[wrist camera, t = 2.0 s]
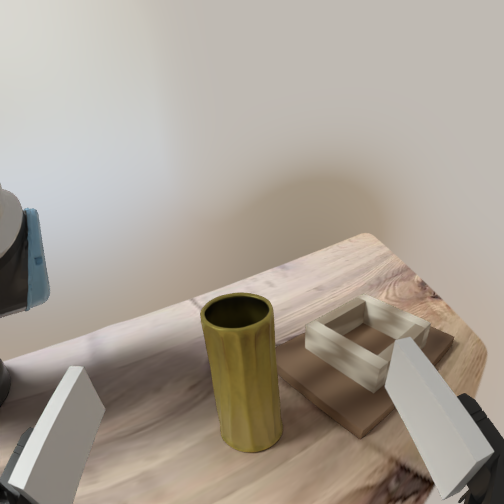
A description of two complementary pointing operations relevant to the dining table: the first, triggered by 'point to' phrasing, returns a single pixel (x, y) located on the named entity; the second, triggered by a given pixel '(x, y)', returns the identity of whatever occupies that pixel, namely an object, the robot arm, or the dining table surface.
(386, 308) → the stand
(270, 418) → the vase
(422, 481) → the dining table surface
